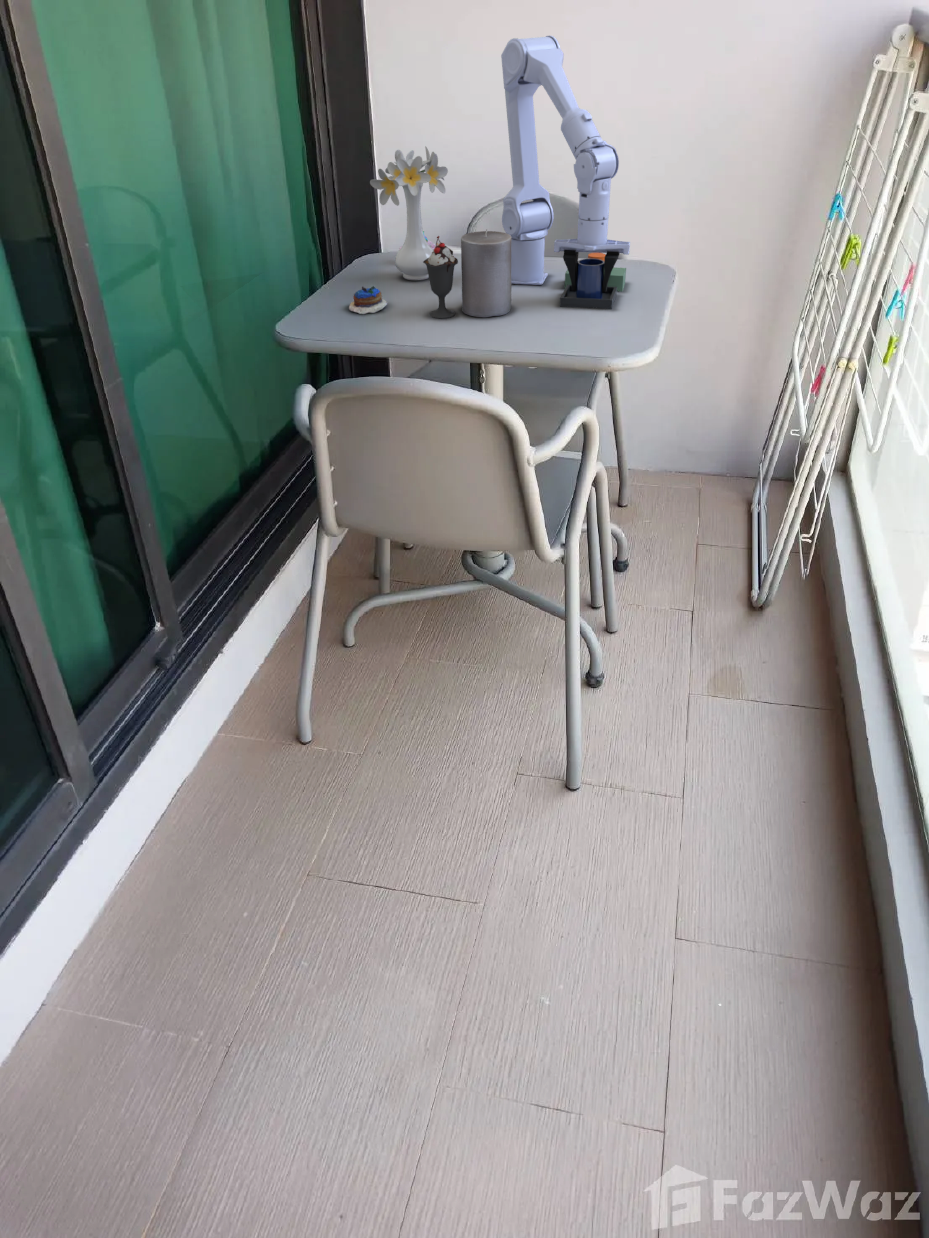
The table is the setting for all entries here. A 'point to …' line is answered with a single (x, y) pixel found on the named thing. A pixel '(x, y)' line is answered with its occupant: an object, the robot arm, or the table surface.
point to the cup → (590, 278)
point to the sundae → (441, 276)
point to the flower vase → (411, 206)
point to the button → (596, 256)
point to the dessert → (367, 301)
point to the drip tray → (588, 299)
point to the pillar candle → (486, 273)
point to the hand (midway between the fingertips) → (589, 290)
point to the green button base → (614, 281)
